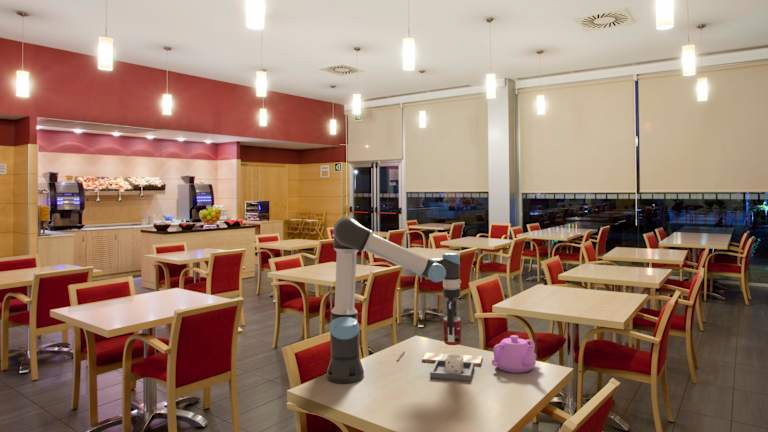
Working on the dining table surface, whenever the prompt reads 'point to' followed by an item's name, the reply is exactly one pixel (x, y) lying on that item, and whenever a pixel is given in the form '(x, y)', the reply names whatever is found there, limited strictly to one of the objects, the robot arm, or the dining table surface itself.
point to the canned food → (456, 331)
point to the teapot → (514, 355)
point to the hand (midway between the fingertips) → (452, 338)
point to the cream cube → (454, 364)
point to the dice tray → (439, 373)
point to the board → (437, 356)
